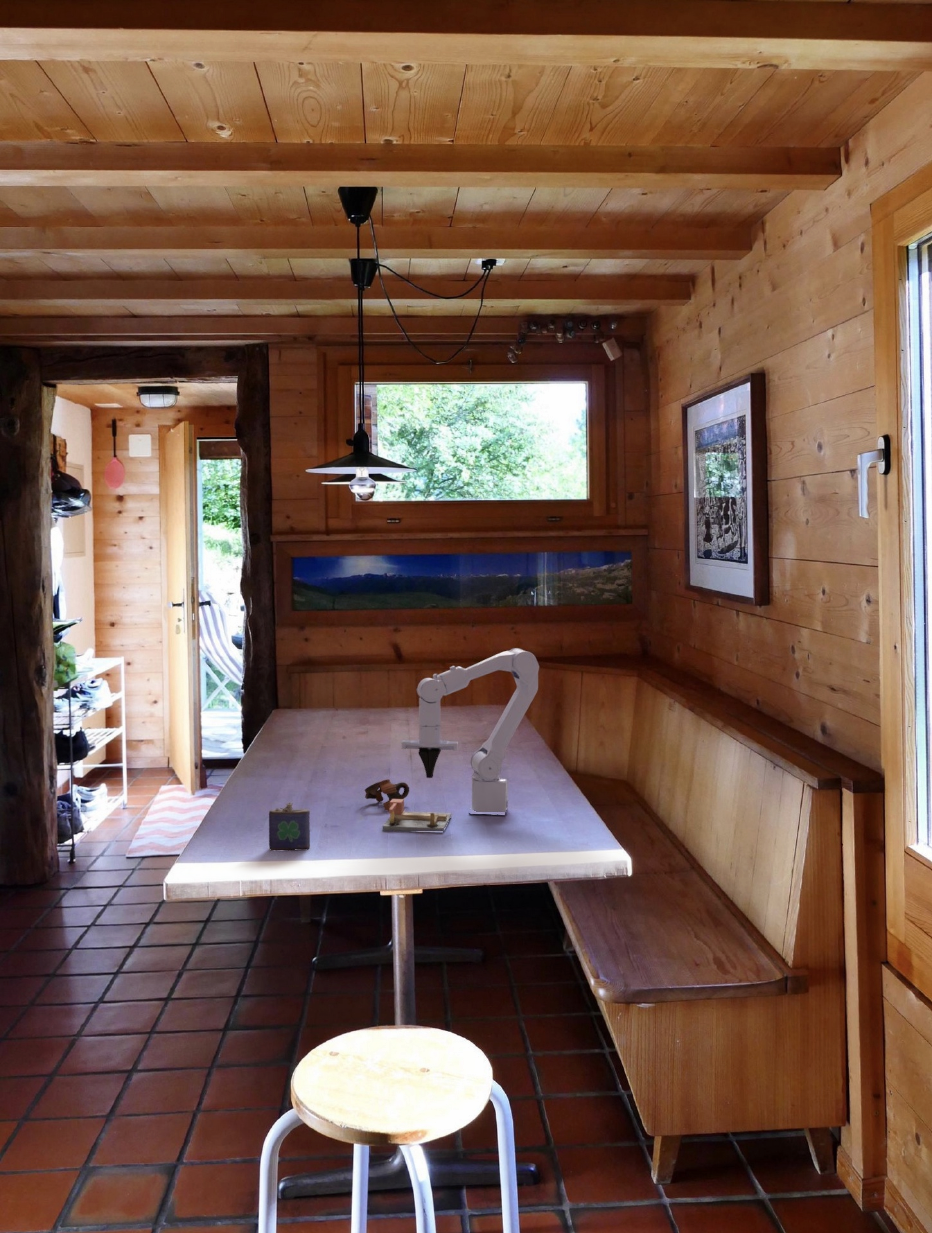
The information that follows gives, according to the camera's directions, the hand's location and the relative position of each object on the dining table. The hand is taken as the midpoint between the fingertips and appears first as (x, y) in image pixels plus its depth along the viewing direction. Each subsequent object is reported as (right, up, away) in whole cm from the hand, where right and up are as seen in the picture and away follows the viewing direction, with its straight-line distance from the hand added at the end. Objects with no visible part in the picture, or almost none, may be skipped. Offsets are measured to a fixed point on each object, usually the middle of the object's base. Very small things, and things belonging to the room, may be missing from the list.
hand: (429, 777), depth 245 cm
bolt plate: (-3, -10, -8) cm, 13 cm away
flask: (-31, -12, -29) cm, 44 cm away
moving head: (-8, -9, -10) cm, 16 cm away
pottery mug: (-12, -10, +10) cm, 18 cm away
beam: (-3, -9, -10) cm, 14 cm away
